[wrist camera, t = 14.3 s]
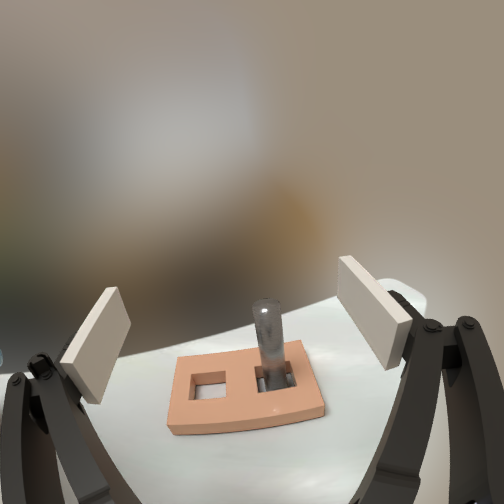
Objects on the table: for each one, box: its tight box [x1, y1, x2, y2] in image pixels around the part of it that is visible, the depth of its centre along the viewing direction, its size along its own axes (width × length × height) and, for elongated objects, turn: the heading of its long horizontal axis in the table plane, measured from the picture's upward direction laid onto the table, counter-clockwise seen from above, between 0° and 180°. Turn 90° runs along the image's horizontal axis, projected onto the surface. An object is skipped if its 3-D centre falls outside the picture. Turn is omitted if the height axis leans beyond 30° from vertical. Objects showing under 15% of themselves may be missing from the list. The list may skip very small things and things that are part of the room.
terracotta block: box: [167, 340, 325, 435], centre depth 34 cm, size 19×13×2 cm
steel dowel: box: [252, 298, 287, 392], centre depth 32 cm, size 3×3×14 cm
